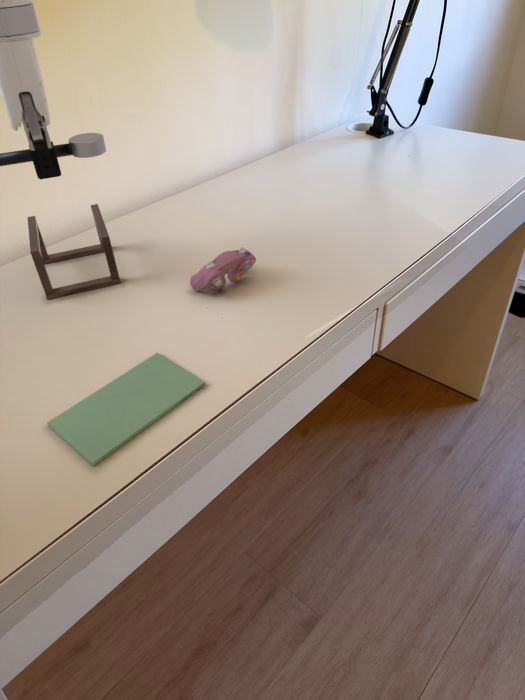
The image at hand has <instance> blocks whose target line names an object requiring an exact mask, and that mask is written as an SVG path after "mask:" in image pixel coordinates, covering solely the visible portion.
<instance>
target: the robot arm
mask: <svg viewBox="0 0 525 700" xmlns="http://www.w3.org/2000/svg"><path fill="white" fill-rule="evenodd" d="M33 2H34V1H33V0H0V95H1V98H2V101H3V104H4V107H5V111H6V114H7V118H8V121H9V124H10V128H11V129H12V130H14V131H18V130H19V129H18V128H21V127H22V125H23V131H24V133H25V135H26V139H27V141H28V142H27V143H28V149H31V150H29V151H30V154H31V157H32V164H33V167H34V170H35V174H36V176H37V178H38V180H46V179H47V180H48V179H53V178H57V177H58V178H59V177H61V176H62V171H61V167H60V163H59V159H58V157H57V156H56V153H55V149H54V142H53V141H51V138H50V137H51V136H50V134H49V131H48V128H47V127H48V126H50V124H51V120H50V119H51V118H50V111H49V106H48V105H49V104H48V99H47V94H46V89H45V83H44V80H43V76H42V73H41V68H40V64H39V60H38V57H37V53H36V48H35V44H34V42H33V39H35V38H39V37H41V36H42V32H41V28H40V25H39V21H38V17H37V14H36V10H35V6H34V3H33Z"/></svg>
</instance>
